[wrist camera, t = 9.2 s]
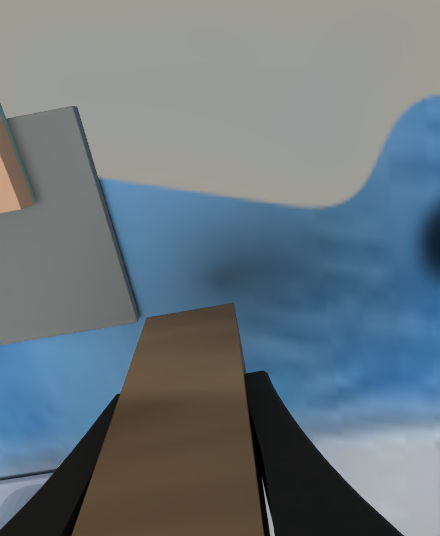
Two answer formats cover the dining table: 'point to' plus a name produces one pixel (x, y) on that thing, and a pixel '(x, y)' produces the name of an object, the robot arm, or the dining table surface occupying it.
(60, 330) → the mat
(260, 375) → the robot arm
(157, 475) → the peg
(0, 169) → the tile
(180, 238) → the dining table surface
